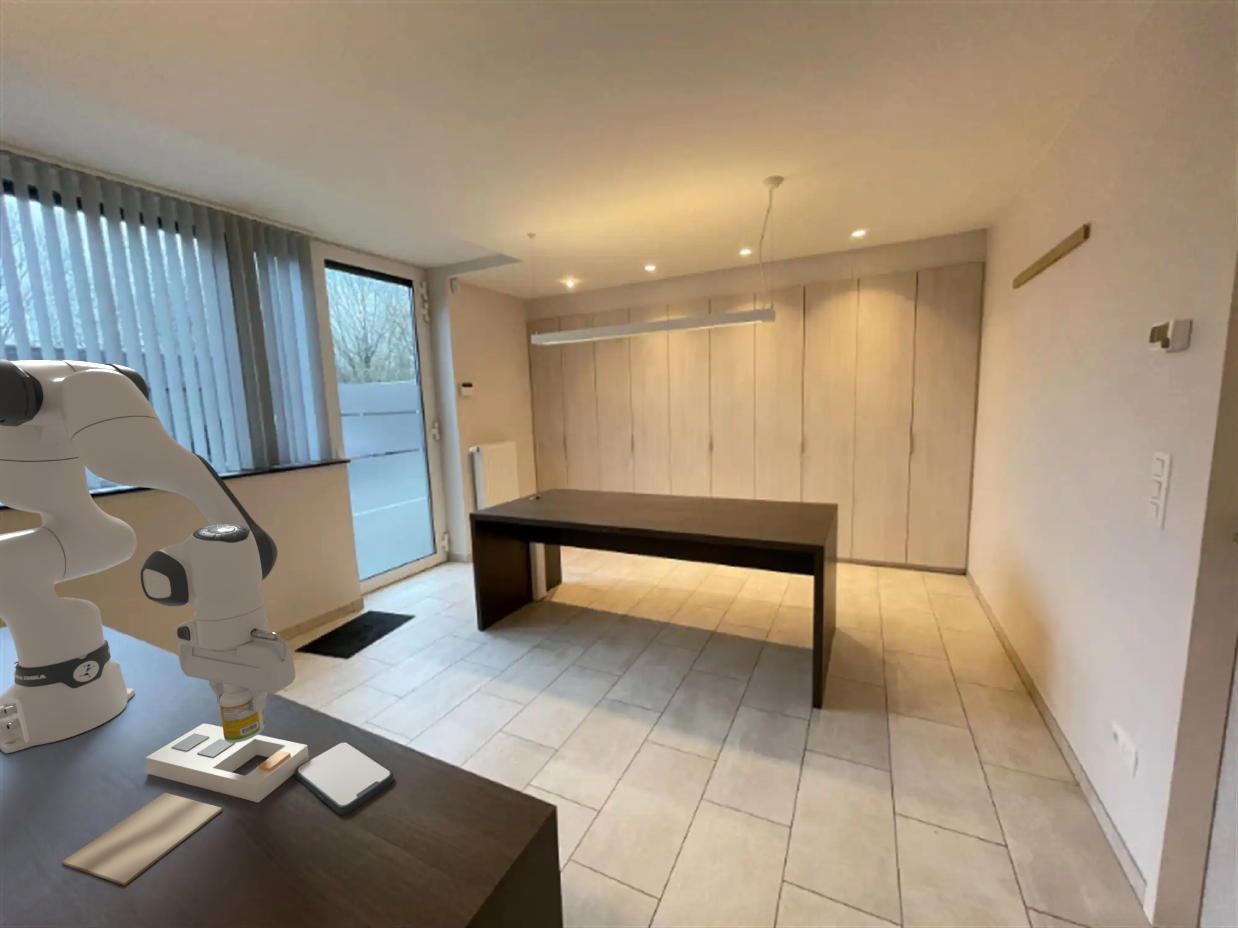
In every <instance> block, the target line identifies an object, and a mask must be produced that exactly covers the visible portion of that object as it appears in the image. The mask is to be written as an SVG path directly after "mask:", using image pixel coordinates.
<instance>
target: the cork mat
mask: <svg viewBox="0 0 1238 928" xmlns="http://www.w3.org/2000/svg"><path fill="white" fill-rule="evenodd" d="M222 811H223V807H220V806H216V805H212V804H209V803H205V802H201V801H198V800H194V799H190V798H187V797H183V796H179V795H176V794H171V793H168V792H163V793H162V794H160V795H159V796H158V797H156V798H155V799H153V800H151V801H150V802H149V803H147V804H146V805H144V806H143V807H141V808H140V809H138V810H137V811H135V812H133V813H132V814H131V815H129V816H128V817H126V818H124V819H123V820H122V821H120V822H119V823H117V824H116V825H114V826H113V827H111V828H110V829H108V830H107V831H105V832H104V833H102V834H101V835H99V836H98V837H96V838H95V839H93V840H92V841H90V842H89V843H88V844H85V845H84V846H83V847H82V848H80V849H78V850H77V851H75V852H74V853H73V854H71V855H70V856H68V857H66V858H65V859H64V860H62V865H65V866H68V867H71V868H73V869H76V870H80V871H82V872H86V873H87V874H90V875H94V876H95V877H99V878H102V879H105V880H107V881H110V882H113V883H116V884H119V885H122V886H126V885H127V884H129V883H130V882H132V881H133V880H134V879H135V878H137V877H138V876H139V875H140V874H142V873H144V871H146V870H148V869H149V868H150V867H151V866H153V865H154V864H155V863H156V862H158V861H159V860H160V859H162V858H163V857H164V856H165V855H166V854H168V853H169V852H170V851H171V850H173V849H174V848H175V847H177V846H178V845H180V844H181V843H182V842H183V841H184V840H186V839H187V838H189V837H190V836H191V835H192V834H194V833H195V832H196V831H197V830H199V829H200V828H202V826H204V825H205V824H206V823H208V822H209V821H210V820H212V819H213V818H215V817H216V816H217V815H218V814H219V813H221V812H222Z"/></svg>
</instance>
